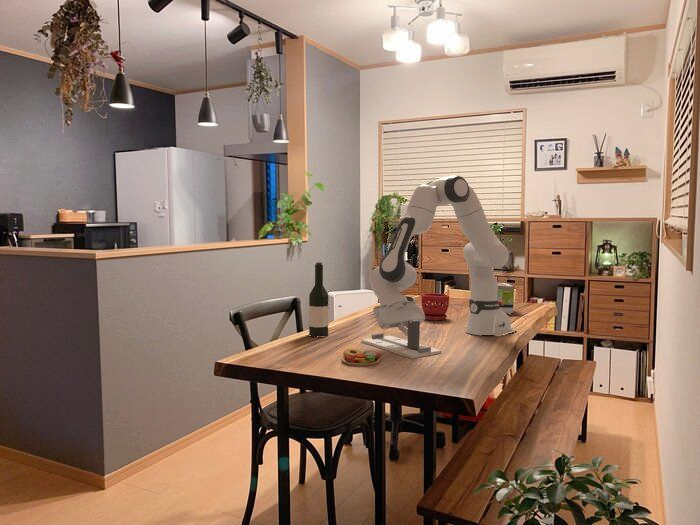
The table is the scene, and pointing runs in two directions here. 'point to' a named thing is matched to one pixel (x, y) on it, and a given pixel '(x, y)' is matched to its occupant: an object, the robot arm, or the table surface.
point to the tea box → (506, 297)
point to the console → (399, 346)
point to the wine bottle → (318, 305)
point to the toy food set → (360, 358)
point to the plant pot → (435, 306)
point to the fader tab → (413, 334)
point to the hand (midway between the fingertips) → (409, 334)
